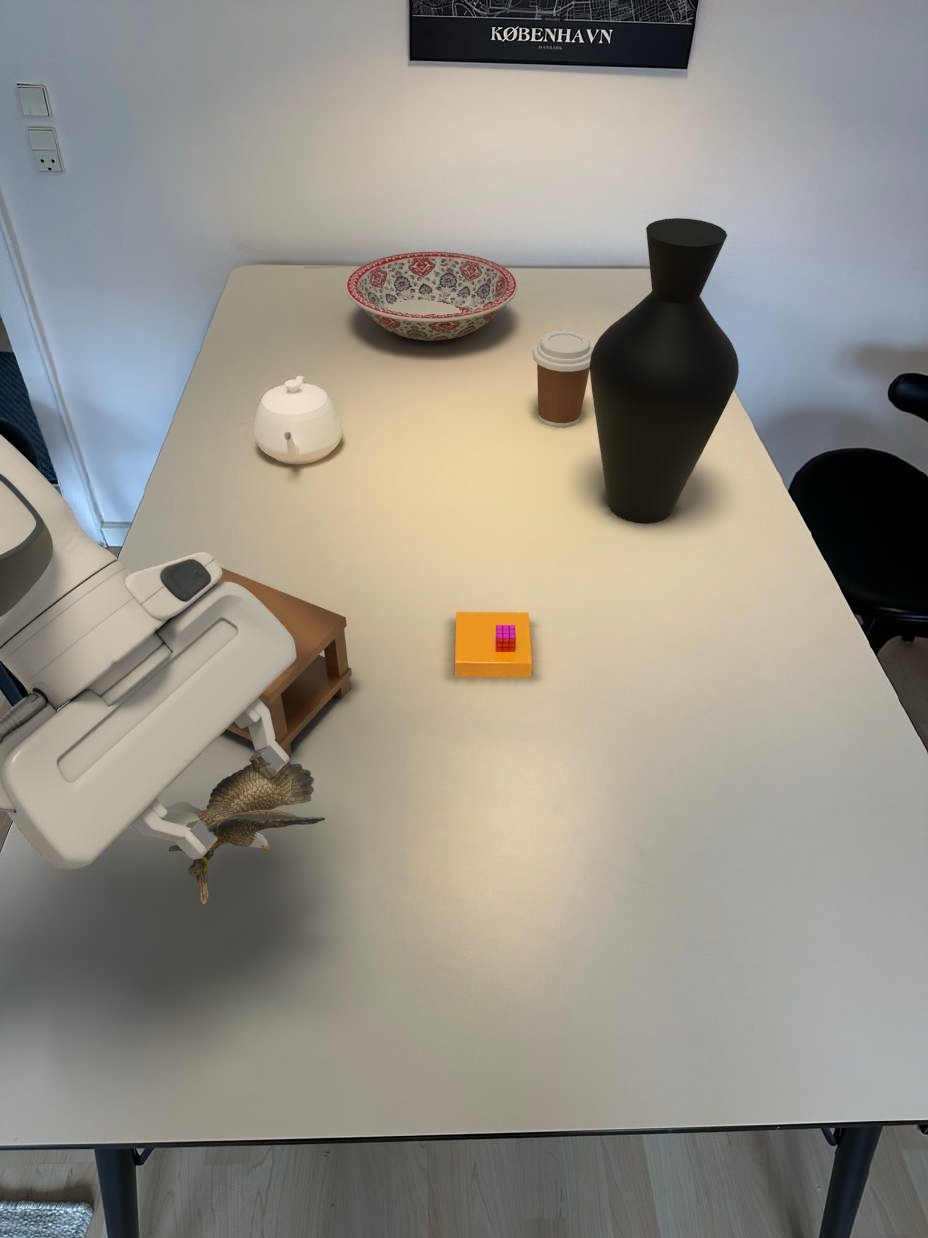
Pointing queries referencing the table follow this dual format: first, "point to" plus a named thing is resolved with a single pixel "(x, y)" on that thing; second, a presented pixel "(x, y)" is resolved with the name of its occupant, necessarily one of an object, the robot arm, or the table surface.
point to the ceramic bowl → (432, 292)
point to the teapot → (297, 423)
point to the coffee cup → (562, 376)
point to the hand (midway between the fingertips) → (244, 808)
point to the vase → (662, 376)
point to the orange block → (493, 644)
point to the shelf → (300, 661)
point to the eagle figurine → (245, 811)
